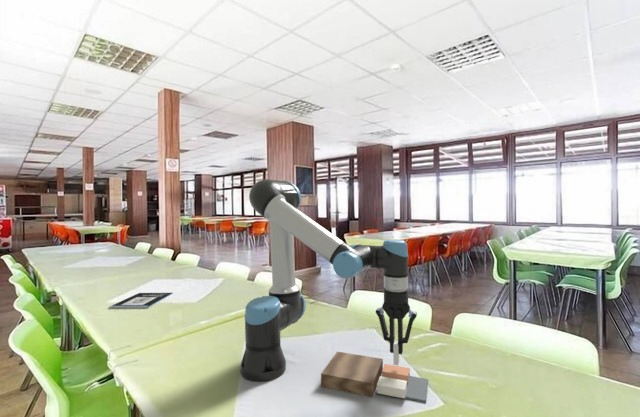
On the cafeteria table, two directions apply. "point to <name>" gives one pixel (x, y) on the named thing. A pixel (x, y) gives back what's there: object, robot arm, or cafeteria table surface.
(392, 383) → the cream tile
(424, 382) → the mat
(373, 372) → the deck
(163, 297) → the picture frame
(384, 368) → the terracotta tile
